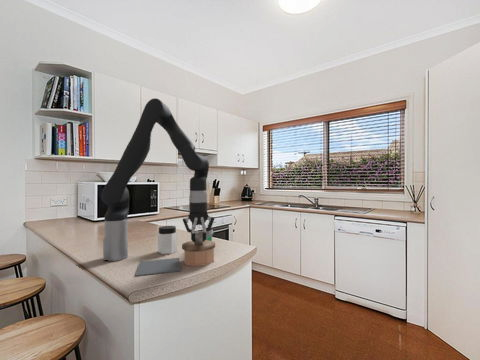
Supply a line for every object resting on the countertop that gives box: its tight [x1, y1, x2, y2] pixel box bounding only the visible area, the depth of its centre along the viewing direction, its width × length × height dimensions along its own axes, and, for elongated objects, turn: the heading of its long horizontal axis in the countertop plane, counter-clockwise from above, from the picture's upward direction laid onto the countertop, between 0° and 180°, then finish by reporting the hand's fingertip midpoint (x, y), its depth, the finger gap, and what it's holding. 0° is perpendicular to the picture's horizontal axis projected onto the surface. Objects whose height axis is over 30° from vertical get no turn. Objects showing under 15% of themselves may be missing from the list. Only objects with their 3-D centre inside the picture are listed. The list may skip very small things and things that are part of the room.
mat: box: [134, 257, 182, 277], centre depth 96 cm, size 16×16×1 cm
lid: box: [181, 231, 216, 252], centre depth 103 cm, size 14×14×6 cm
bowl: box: [183, 247, 215, 267], centre depth 103 cm, size 12×12×6 cm
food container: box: [200, 227, 214, 241], centre depth 120 cm, size 12×6×10 cm, turn 168°
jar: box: [157, 225, 178, 255], centre depth 117 cm, size 9×8×12 cm
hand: (198, 241), depth 103 cm, fingers closed on lid, 3 cm apart
